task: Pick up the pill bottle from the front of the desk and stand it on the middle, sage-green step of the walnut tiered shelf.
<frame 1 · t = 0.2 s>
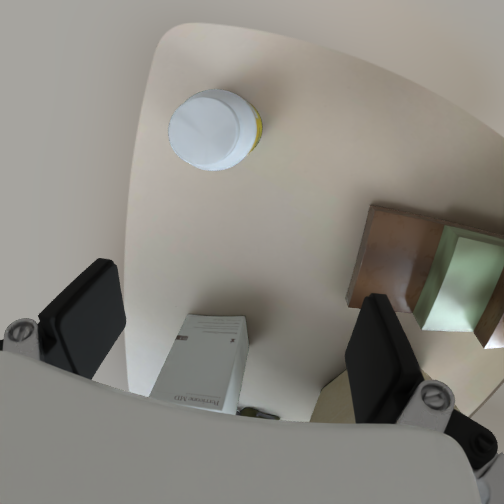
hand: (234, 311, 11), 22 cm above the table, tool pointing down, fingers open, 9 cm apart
pill bottle: (231, 127, 28), on the table
flower pot: (373, 379, 41), on the table
tier shelf: (449, 268, 32), on the table
cosmetic box: (217, 330, 39), on the table
landmine: (236, 421, 49), on the table
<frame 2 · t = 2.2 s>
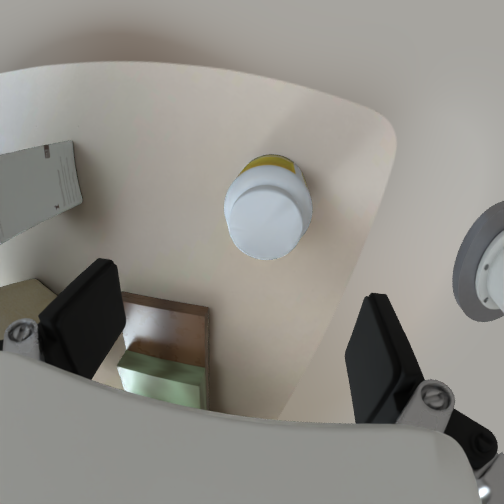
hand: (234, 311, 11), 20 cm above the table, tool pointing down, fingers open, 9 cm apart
pill bottle: (272, 185, 29), on the table
flower pot: (59, 320, 42), on the table
tier shelf: (171, 369, 42), on the table
cosmetic box: (62, 173, 30), on the table
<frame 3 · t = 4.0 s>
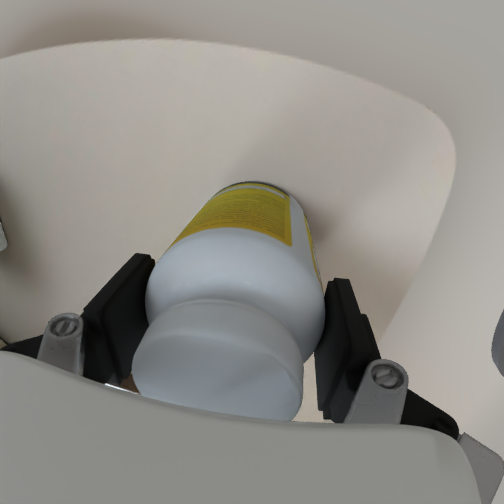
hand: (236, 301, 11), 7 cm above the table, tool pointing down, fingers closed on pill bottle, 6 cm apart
pill bottle: (254, 231, 18), on the table, touching gripper
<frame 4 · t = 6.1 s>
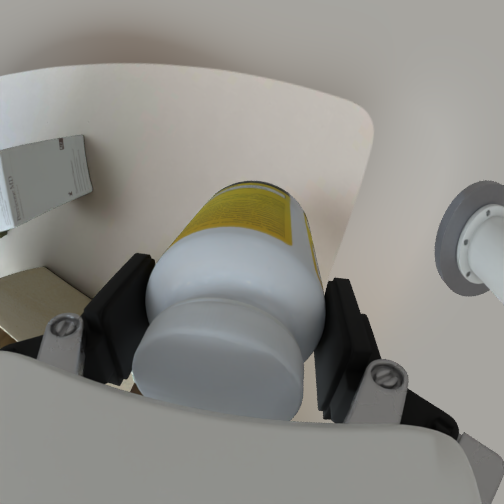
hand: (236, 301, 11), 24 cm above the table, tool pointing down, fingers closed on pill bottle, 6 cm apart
pill bottle: (255, 231, 18), point 17 cm above the table, touching gripper
flower pot: (66, 307, 45), on the table
cosmetic box: (73, 165, 34), on the table
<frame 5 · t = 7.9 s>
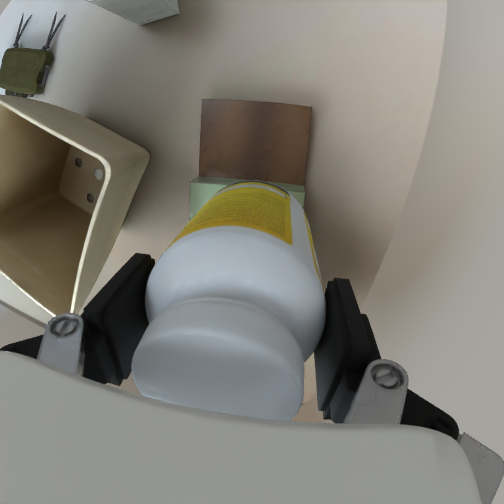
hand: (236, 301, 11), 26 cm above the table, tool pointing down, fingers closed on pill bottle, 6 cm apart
pill bottle: (255, 230, 18), point 19 cm above the table, touching gripper
flower pot: (101, 173, 36), on the table
tier shelf: (249, 212, 37), on the table
landmine: (32, 55, 28), on the table
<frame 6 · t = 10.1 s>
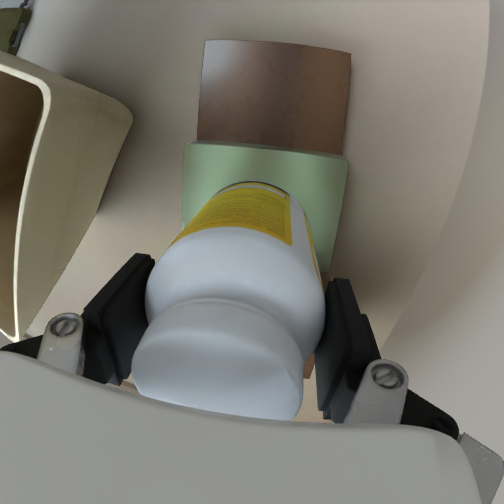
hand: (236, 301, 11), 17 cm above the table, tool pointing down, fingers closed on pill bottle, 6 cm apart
pill bottle: (254, 231, 18), point 10 cm above the table, touching gripper
flower pot: (74, 145, 26), on the table
tier shelf: (264, 191, 27), on the table
landmine: (9, 17, 18), on the table
when the fingers open (13 cm above the table, at t = 11.8 s): pill bottle stays where it is, resting on tier shelf.
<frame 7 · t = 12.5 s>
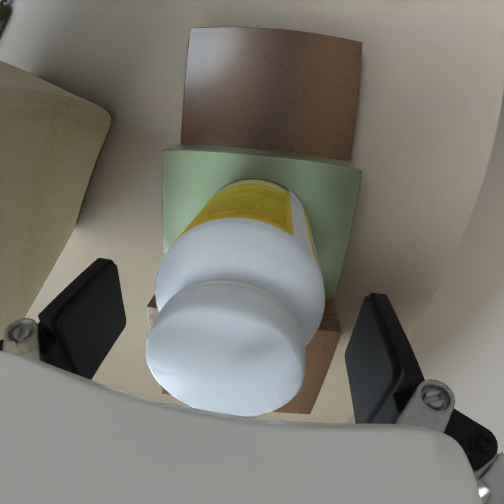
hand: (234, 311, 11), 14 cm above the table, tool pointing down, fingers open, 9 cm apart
pill bottle: (256, 226, 18), point 5 cm above the table, touching tier shelf
flower pot: (51, 151, 23), on the table
tier shelf: (260, 203, 23), on the table
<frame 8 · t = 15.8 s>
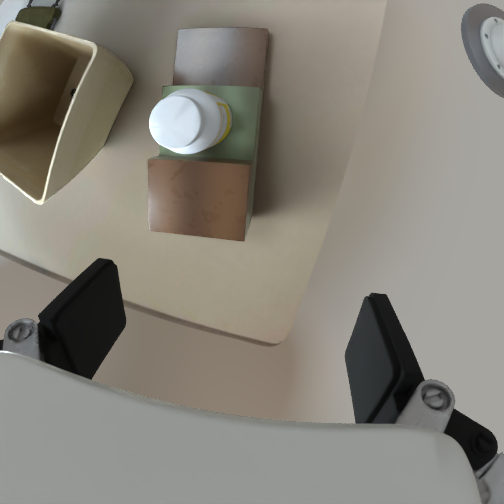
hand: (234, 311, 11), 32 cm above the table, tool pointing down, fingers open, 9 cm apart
pill bottle: (207, 120, 33), point 5 cm above the table, touching tier shelf
flower pot: (92, 100, 37), on the table
tier shelf: (216, 120, 37), on the table
landmine: (42, 13, 29), on the table
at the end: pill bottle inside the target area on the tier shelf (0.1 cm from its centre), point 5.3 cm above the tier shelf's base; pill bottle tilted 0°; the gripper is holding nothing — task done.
